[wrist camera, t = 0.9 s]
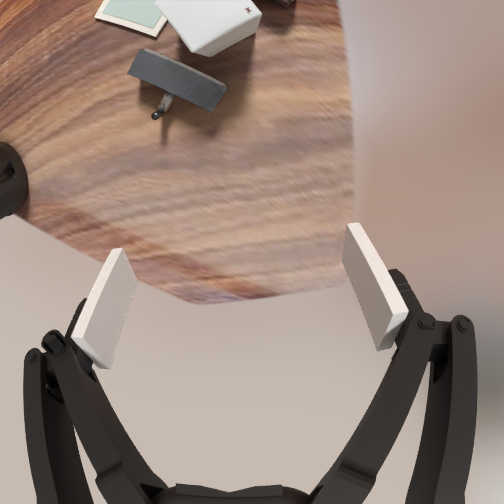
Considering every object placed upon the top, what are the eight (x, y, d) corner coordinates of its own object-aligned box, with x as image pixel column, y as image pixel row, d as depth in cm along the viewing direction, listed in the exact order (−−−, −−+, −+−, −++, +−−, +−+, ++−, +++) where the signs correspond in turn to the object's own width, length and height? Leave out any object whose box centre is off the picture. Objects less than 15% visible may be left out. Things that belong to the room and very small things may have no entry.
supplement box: (228, -7, 23) (221, -39, 13) (257, 32, 27) (265, 15, 17) (179, 20, 25) (150, 1, 15) (208, 59, 29) (192, 54, 19)
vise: (128, 96, 31) (114, 101, 27) (218, -40, 19) (215, -54, 15) (200, 131, 36) (195, 140, 32) (296, -3, 24) (304, -13, 20)
